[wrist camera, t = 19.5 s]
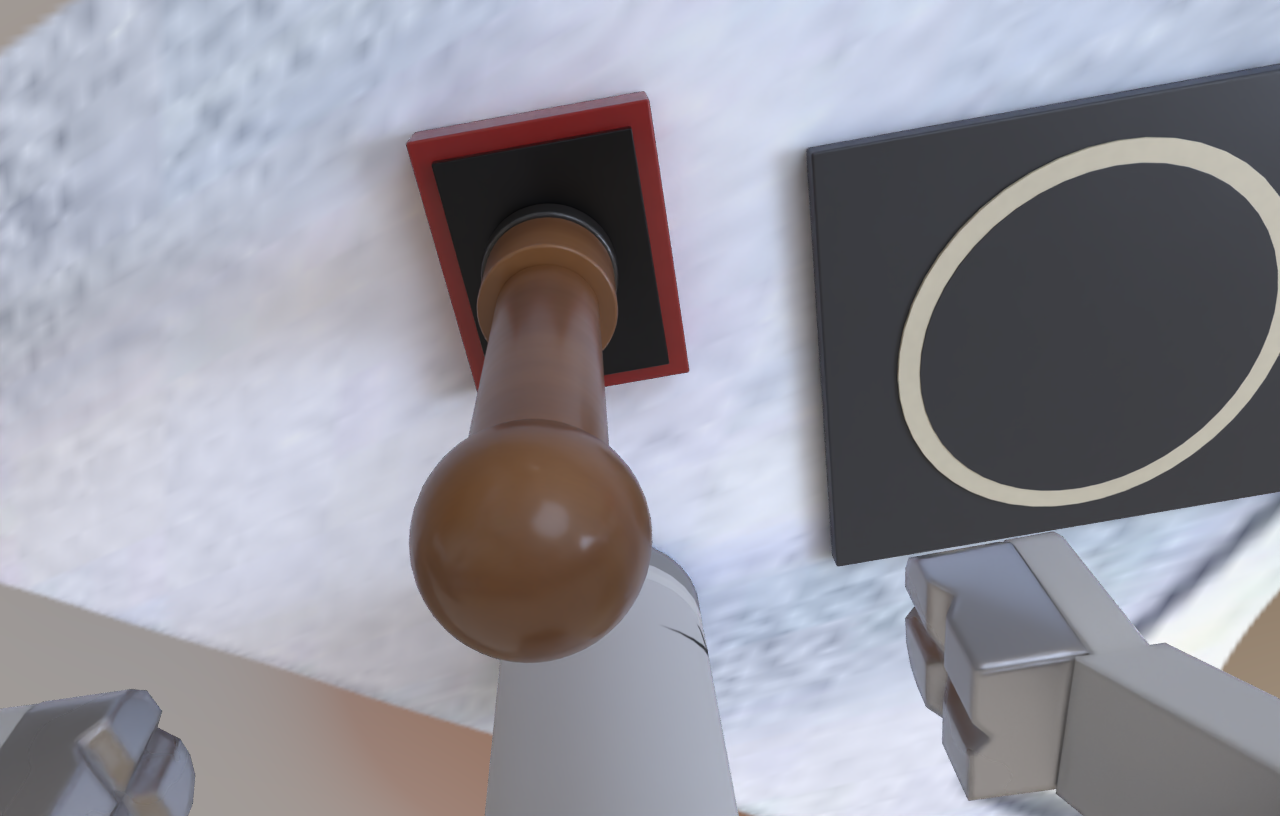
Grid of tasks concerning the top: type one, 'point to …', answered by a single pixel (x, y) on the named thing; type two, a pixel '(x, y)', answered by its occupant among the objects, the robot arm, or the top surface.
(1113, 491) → the dark grey square plate
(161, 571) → the top surface
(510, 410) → the dot stamp
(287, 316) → the top surface
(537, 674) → the travel mug
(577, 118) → the ink pad
